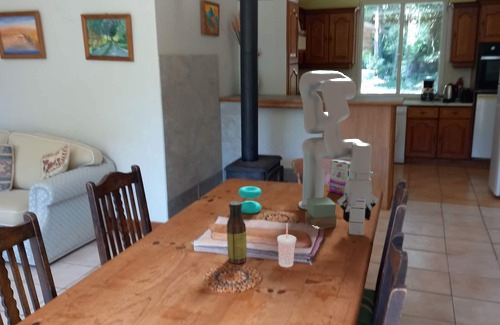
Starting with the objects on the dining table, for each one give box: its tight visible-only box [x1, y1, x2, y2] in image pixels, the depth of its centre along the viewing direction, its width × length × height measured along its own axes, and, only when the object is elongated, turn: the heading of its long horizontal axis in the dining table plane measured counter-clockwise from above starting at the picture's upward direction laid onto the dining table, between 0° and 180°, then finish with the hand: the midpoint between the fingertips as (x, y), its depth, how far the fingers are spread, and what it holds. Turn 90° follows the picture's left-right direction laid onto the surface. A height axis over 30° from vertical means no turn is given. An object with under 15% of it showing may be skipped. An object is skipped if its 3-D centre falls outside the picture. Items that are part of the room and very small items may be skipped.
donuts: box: [238, 185, 262, 214], centre depth 192 cm, size 10×10×10 cm
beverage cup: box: [276, 222, 297, 268], centre depth 141 cm, size 6×6×14 cm
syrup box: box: [348, 198, 366, 236], centre depth 168 cm, size 6×6×14 cm
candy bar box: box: [329, 159, 350, 196], centre depth 218 cm, size 11×5×16 cm, turn 43°
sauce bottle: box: [226, 200, 248, 265], centre depth 142 cm, size 7×6×20 cm
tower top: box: [306, 196, 337, 217], centre depth 176 cm, size 9×9×5 cm
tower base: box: [304, 210, 337, 229], centre depth 177 cm, size 9×9×5 cm
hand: (356, 219), depth 168 cm, fingers open, 8 cm apart
